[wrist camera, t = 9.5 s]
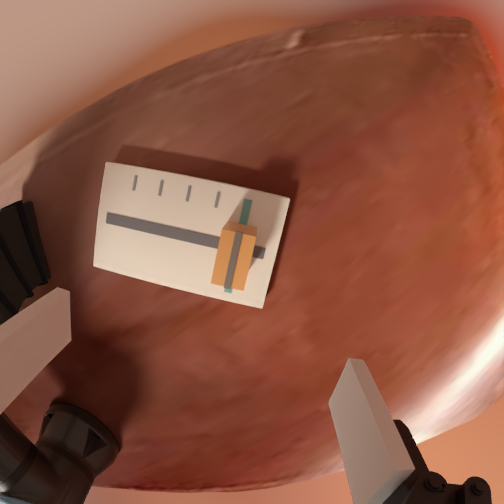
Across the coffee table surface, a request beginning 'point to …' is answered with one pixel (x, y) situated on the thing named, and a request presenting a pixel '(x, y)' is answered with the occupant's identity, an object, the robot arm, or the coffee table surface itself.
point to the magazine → (19, 258)
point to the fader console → (183, 229)
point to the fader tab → (234, 255)
